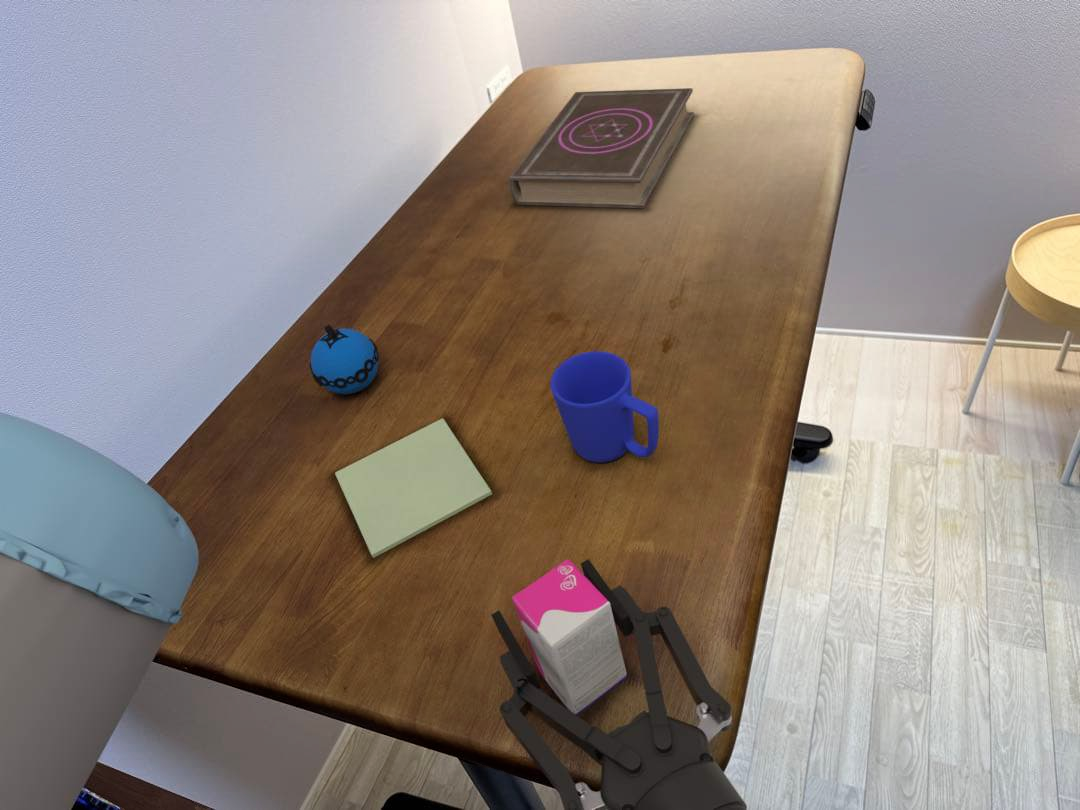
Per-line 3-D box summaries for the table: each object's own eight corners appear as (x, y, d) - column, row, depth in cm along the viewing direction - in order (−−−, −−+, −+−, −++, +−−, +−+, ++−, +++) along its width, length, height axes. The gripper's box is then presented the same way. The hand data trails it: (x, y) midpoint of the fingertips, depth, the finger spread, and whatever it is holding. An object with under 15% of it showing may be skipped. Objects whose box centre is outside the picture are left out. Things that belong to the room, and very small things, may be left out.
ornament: (400, 380, 101) (374, 320, 94) (345, 418, 97) (313, 358, 91) (367, 355, 106) (339, 296, 99) (313, 390, 103) (281, 331, 96)
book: (643, 208, 119) (640, 179, 115) (513, 204, 128) (506, 177, 124) (694, 115, 137) (692, 87, 134) (577, 117, 146) (572, 91, 143)
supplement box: (630, 676, 66) (612, 603, 58) (574, 720, 64) (548, 651, 56) (589, 629, 70) (567, 555, 62) (536, 669, 68) (506, 598, 60)
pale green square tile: (373, 558, 81) (371, 555, 80) (336, 475, 90) (334, 472, 90) (492, 494, 84) (491, 490, 83) (444, 421, 93) (442, 417, 93)
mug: (639, 499, 79) (627, 432, 72) (552, 452, 86) (533, 387, 79) (685, 448, 83) (678, 380, 76) (598, 407, 90) (585, 341, 83)
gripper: (577, 958, 51) (446, 679, 67) (829, 781, 55) (650, 560, 71) (556, 929, 45) (420, 635, 61) (835, 736, 50) (641, 509, 66)
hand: (543, 595), depth 66 cm, fingers open, 8 cm apart
